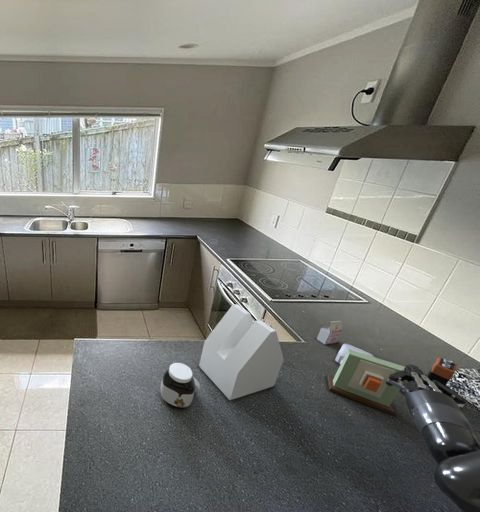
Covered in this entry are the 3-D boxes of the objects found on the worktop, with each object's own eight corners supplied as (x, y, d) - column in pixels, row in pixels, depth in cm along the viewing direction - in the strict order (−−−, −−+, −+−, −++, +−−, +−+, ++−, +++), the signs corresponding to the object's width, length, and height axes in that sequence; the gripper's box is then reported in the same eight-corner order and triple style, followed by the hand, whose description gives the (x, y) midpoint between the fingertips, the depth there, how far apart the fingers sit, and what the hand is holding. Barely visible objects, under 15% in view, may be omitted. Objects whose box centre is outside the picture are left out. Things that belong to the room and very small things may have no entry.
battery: (443, 384, 100) (459, 362, 96) (440, 392, 96) (456, 370, 92) (426, 376, 103) (440, 354, 99) (422, 383, 99) (436, 362, 96)
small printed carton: (316, 338, 121) (324, 319, 117) (328, 337, 122) (337, 318, 118) (324, 344, 117) (333, 324, 114) (337, 342, 119) (346, 323, 115)
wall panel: (387, 399, 93) (408, 363, 87) (393, 416, 87) (416, 379, 81) (327, 377, 101) (343, 343, 95) (329, 391, 95) (346, 356, 89)
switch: (374, 388, 87) (379, 379, 86) (376, 392, 86) (381, 383, 85) (363, 384, 89) (368, 376, 87) (365, 388, 87) (369, 379, 86)
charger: (330, 368, 105) (339, 351, 114) (362, 384, 98) (369, 365, 107) (334, 358, 103) (344, 342, 112) (367, 373, 96) (375, 355, 105)
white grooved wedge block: (239, 355, 109) (255, 300, 100) (273, 386, 96) (296, 325, 86) (198, 366, 103) (212, 308, 94) (229, 400, 90) (248, 337, 80)
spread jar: (157, 402, 88) (162, 374, 83) (163, 377, 98) (167, 350, 93) (197, 416, 84) (204, 387, 80) (199, 388, 94) (205, 361, 89)
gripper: (500, 424, 52) (457, 367, 66) (403, 390, 59) (382, 345, 72) (478, 450, 55) (441, 391, 69) (387, 415, 62) (370, 367, 75)
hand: (411, 367), depth 70 cm, fingers closed
